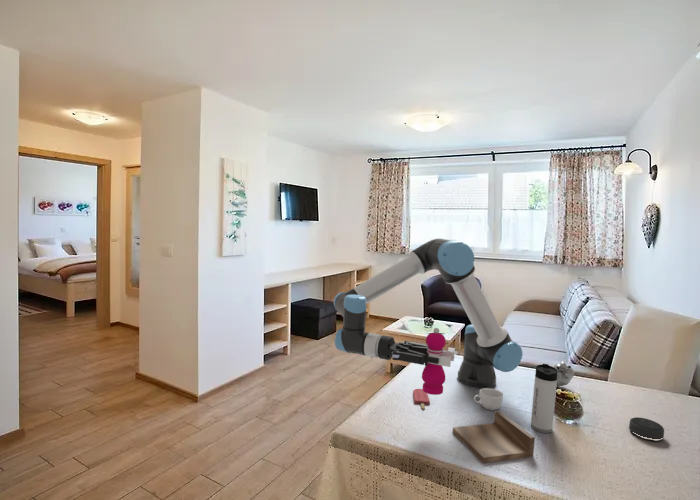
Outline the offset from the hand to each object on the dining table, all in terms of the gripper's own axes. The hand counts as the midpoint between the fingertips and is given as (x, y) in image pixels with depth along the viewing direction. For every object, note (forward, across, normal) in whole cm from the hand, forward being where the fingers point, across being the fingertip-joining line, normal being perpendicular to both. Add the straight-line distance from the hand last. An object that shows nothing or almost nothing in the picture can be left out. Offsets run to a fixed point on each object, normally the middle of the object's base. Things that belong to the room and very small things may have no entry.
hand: (451, 359), depth 124 cm
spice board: (+13, +2, -22) cm, 26 cm away
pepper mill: (-5, 0, -11) cm, 12 cm away
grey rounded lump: (+34, -56, -23) cm, 69 cm away
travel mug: (+27, -16, -23) cm, 39 cm away
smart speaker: (+57, -29, -23) cm, 68 cm away
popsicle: (-12, -16, -23) cm, 31 cm away
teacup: (+9, -23, -23) cm, 34 cm away
